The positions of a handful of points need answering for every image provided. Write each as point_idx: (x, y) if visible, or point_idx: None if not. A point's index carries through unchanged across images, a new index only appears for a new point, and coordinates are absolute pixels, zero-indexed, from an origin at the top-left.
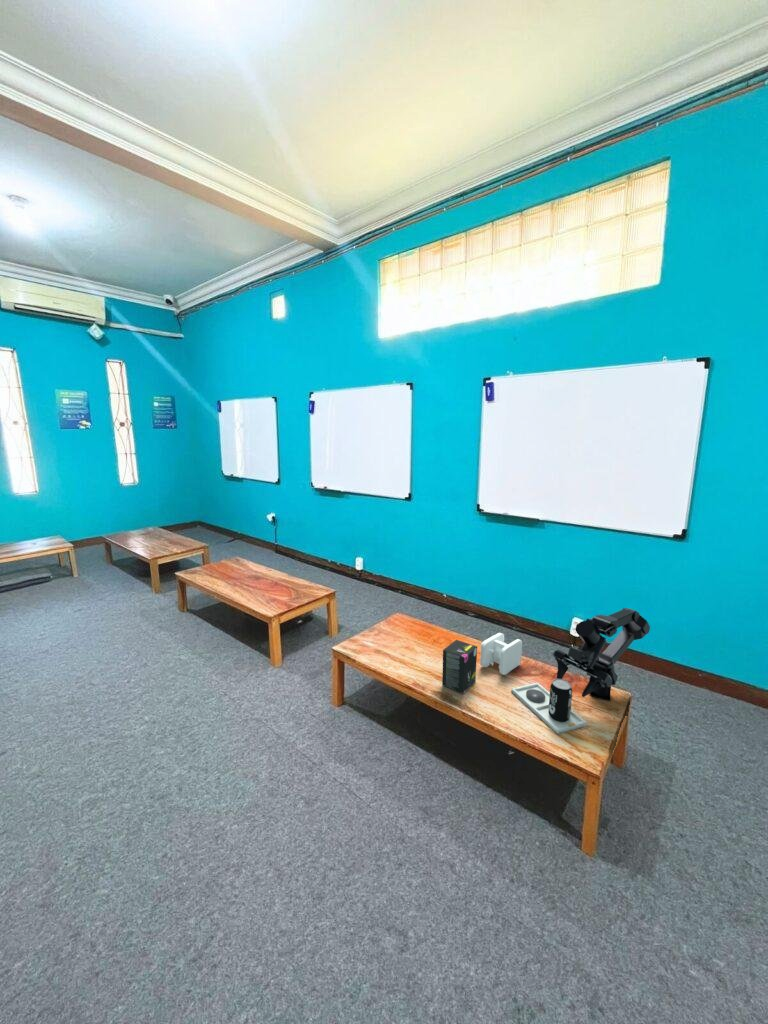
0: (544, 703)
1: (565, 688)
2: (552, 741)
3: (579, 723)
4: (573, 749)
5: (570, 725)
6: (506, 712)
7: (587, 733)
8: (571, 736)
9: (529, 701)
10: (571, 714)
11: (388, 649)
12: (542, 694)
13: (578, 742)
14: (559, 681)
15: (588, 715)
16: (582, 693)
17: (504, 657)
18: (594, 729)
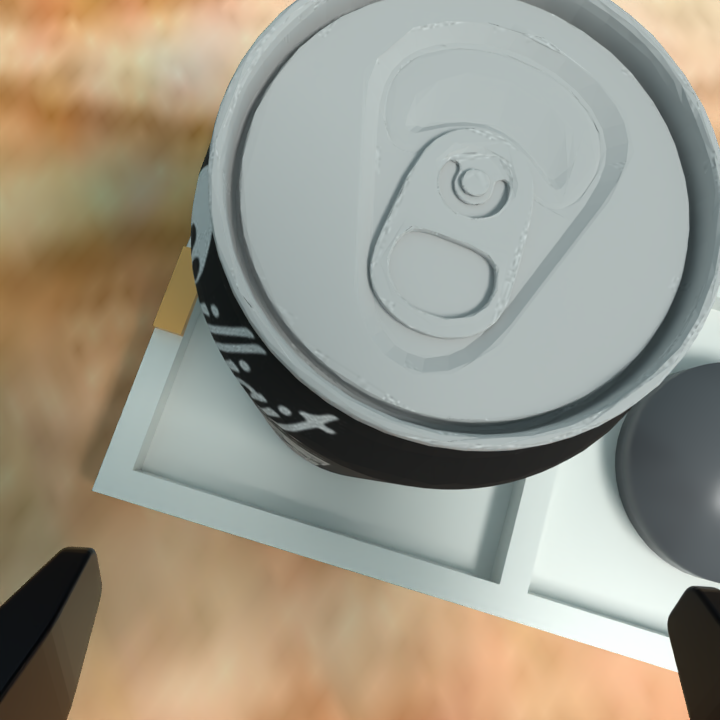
0: (590, 449)
1: (300, 95)
2: (223, 22)
3: (135, 393)
4: (43, 66)
5: (180, 264)
6: (701, 52)
7: (45, 381)
8: (138, 211)
9: (698, 346)
10: (299, 520)
11: None
12: (699, 545)
13: (51, 185)
14: (593, 283)
15: (173, 704)
16: (67, 577)
17: None
18: (17, 509)
